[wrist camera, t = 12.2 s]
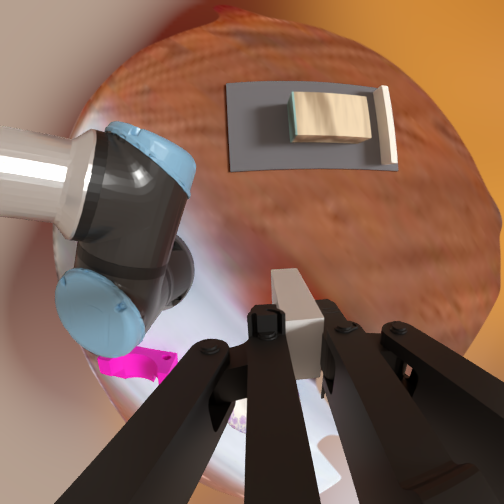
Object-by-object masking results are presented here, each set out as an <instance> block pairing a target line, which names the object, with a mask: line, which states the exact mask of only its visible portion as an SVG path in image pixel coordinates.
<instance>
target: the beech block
mask: <svg viewBox="0 0 504 504" xmlns="http://www.w3.org/2000/svg"><path fill="white" fill-rule="evenodd" d="M287 110H288V121H289V134H290V142H323V143H351V144H359V143H361V142H363V141H366V140H368V139H370V138H372V137H371V127H370V119H369V111H368V104H367V97H365V96H357V95H347V94H335V93H320V92H291V95H290V97H289V100H288V102H287Z"/></svg>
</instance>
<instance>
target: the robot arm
mask: <svg viewBox="0 0 504 504" xmlns="http://www.w3.org/2000/svg"><path fill="white" fill-rule="evenodd" d="M195 172H196V165H195V162H194V159H193V158H192V156H191V155H190V154H189V153H188V152H187V151H185V150H184V149H182V148H181V147H179V146H178V145H176V144H174V143H173V142H171V141H169V140H167V139H165V138H163V137H161V136H159V135H157V134H155V133H152V132H150V131H147V130H145V129H140V128H138V127H135V126H133V125H131V124H128V123H124V122H119V121H114V122H111V123H110V124H109V125H108V126H107V127H106V128H105V132H102V131H98V130H94V129H90V130H88V131H86V132H85V133H83V134H82V135H80V136H78V137H77V138H74V139H67V138H63V137H58V136H53V135H48V134H43V133H38V132H33V131H28V130H21V129H17V128H11V127H4V126H0V217H10V218H17V219H26V220H34V221H42V222H50V223H53V224H55V225H56V226H57V228H58V229H59V230H60V232H61V233H62V235H63V236H64V237H65V239H67V240H74V241H78V243H77V250H76V256H75V264H74V268H73V269H71V270H68V271H67V272H65V274H64V275H63V277H62V278H61V279H60V280H59V282H58V284H57V286H56V290H55V304H56V309H57V312H58V315H59V318H60V320H61V322H62V324H63V326H64V327H65V328H66V329H67V331H68V332H69V334H70V335H71V337H72V338H73V339H74V340H76V342H77V343H78V344H80V345H81V346H82V347H83V348H85V349H86V350H88V351H90V352H92V353H94V354H96V355H99V356H102V357H106V358H117V357H121V356H125V355H127V354H128V353H130V352H131V351H132V350H133V349H134V348H135V347H136V346H137V345H139V344H140V343H141V342H142V340H143V338H144V336H145V334H146V333H147V331H148V330H149V328H150V327H151V325H152V324H153V323H154V321H155V320H156V318H157V317H158V316H159V314H160V313H161V312H162V311H163V310H167V309H169V308H172V307H174V306H175V305H177V304H178V303H179V302H181V301H182V300H183V299H184V297H185V296H186V295H187V293H188V291H189V290H190V288H191V286H192V283H193V279H194V262H193V258H192V255H191V253H190V250H189V249H188V247H187V245H186V244H185V243H184V241H183V240H182V239H181V238H180V237H179V236H178V235H176V234H177V231H178V227H179V224H180V221H181V217H182V214H183V211H184V208H185V205H186V201H187V199H189V198H190V195H191V194H190V189H191V186H192V182H193V179H194V175H195ZM271 283H272V304H266V305H255V306H254V307H253V308H252V309H251V312H249V313H248V315H247V322H248V335H249V339H248V340H247V341H246V342H245V343H243V344H241V345H239V346H235V347H231V348H229V346H228V344H227V343H226V342H224V341H223V340H218V339H207V340H206V339H205V340H202V341H199V342H197V343H195V344H194V345H193V346H192V347H191V348H190V349H189V350H188V352H187V353H186V354H185V355H184V356H183V357H182V359H181V360H180V361H179V362H178V363H177V365H176V366H175V367H174V368H173V369H172V370H171V372H170V373H169V374H168V375H167V376H166V377H165V379H164V380H163V381H162V382H161V383H160V384H159V386H158V387H157V388H156V389H155V390H154V391H153V393H152V394H151V395H150V396H149V397H148V398H147V400H146V401H145V402H144V403H143V404H142V405H141V407H140V408H139V409H138V410H137V411H136V412H135V413H134V415H133V416H132V417H131V418H130V419H129V420H128V422H127V423H126V424H125V425H124V426H123V427H122V429H121V430H120V431H119V432H118V433H117V434H116V435H115V436H114V438H113V439H112V440H111V441H110V442H109V443H108V444H107V446H106V447H105V448H104V449H103V450H102V451H101V452H100V453H99V455H98V456H97V457H96V458H95V459H94V460H93V461H92V462H91V464H90V465H89V466H88V467H87V468H86V469H85V470H84V471H83V472H82V474H81V475H80V476H79V477H78V478H77V479H76V480H75V481H74V482H73V483H72V485H71V486H70V487H69V488H68V489H67V490H66V491H65V492H64V493H63V495H61V497H60V498H59V499H58V500H57V501H56V502H55V503H54V504H187V503H188V501H189V499H190V498H191V496H192V494H193V492H194V490H195V488H196V486H197V484H198V482H199V480H200V478H201V476H202V474H203V472H204V470H205V468H206V466H207V464H208V462H209V460H210V458H211V456H212V454H213V452H214V450H215V448H216V446H217V444H218V442H219V440H220V438H221V435H222V433H223V431H224V429H225V427H226V425H227V423H228V420H229V418H230V416H231V414H232V412H233V409H234V407H235V403H236V401H237V400H241V399H245V398H247V415H246V454H245V493H244V504H321V502H320V497H319V491H318V486H317V481H316V476H315V471H314V466H313V461H312V456H311V451H310V446H309V441H308V436H307V431H306V426H305V422H304V417H303V412H302V407H301V403H300V398H299V393H298V389H297V384H296V380H299V379H309V378H318V377H320V372H321V368H322V371H323V382H322V392H321V399H322V398H324V394H325V393H326V396H327V399H328V402H329V406H330V409H331V412H332V415H333V418H334V421H335V424H336V427H337V431H338V434H339V437H340V440H341V443H342V446H343V449H344V453H345V456H346V460H347V463H348V466H349V470H350V473H351V476H352V479H353V483H354V486H355V489H356V493H357V497H358V500H359V504H504V382H502V381H501V380H499V379H498V378H496V377H494V376H493V375H491V374H490V373H488V372H486V371H485V370H483V369H482V368H480V367H479V366H477V365H475V364H474V363H472V362H470V361H469V360H467V359H466V358H464V357H462V356H461V355H459V354H458V353H456V352H454V351H453V350H451V349H449V348H448V347H446V346H445V345H443V344H441V343H440V342H438V341H436V340H435V339H433V338H431V337H430V336H428V335H426V334H425V333H423V332H421V331H420V330H418V329H416V328H415V327H413V326H411V325H409V324H407V323H404V322H401V321H393V322H389V323H386V324H384V325H383V327H382V331H381V334H380V333H365V331H364V330H363V329H362V327H361V326H360V325H359V324H357V323H355V322H352V321H347V320H346V318H345V317H344V315H343V314H342V313H341V311H340V310H339V308H338V307H337V305H336V304H335V303H334V302H332V301H330V300H328V299H323V300H314V298H313V296H312V294H311V293H310V291H309V289H308V287H307V285H306V284H305V282H304V280H303V278H302V276H301V275H300V273H299V271H298V269H297V268H292V269H275V270H271ZM407 364H408V365H409V366H411V367H412V372H411V375H410V376H408V375H406V374H405V371H406V367H407Z"/></svg>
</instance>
